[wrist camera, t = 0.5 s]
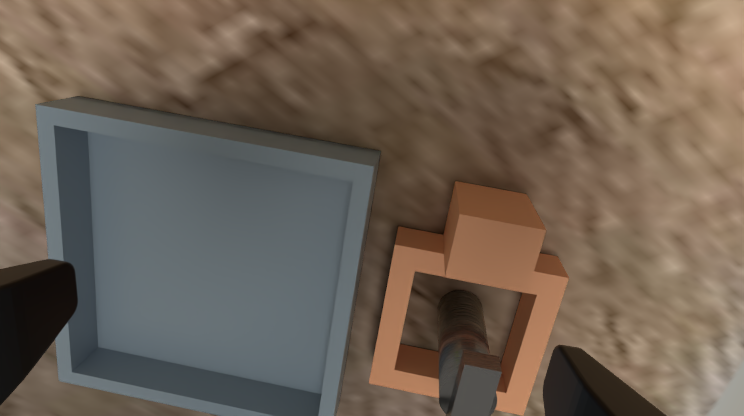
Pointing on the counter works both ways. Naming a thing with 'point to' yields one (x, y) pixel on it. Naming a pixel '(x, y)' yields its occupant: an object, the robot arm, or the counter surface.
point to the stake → (465, 358)
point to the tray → (204, 257)
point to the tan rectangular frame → (482, 266)
